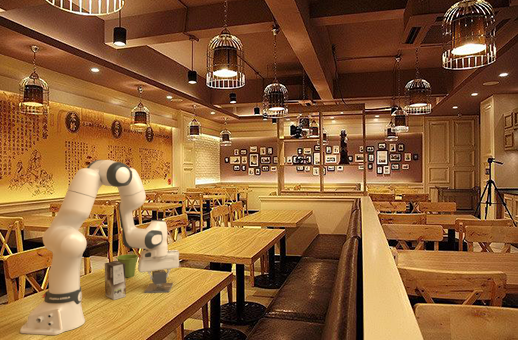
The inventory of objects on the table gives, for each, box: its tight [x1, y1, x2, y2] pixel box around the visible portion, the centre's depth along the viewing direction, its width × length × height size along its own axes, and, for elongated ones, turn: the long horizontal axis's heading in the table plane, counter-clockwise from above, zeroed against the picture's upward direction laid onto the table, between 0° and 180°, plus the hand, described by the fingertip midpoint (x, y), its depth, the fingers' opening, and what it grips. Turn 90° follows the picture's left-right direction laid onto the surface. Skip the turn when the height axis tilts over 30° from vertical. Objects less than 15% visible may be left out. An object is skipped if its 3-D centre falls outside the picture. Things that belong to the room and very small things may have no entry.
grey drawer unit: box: [151, 269, 167, 285], centre depth 192 cm, size 6×6×6 cm
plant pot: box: [116, 253, 140, 279], centre depth 213 cm, size 12×12×11 cm
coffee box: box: [104, 260, 127, 301], centre depth 182 cm, size 9×6×16 cm
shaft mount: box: [143, 282, 174, 294], centre depth 192 cm, size 12×12×4 cm
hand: (159, 278), depth 192 cm, fingers closed on grey drawer unit, 6 cm apart
